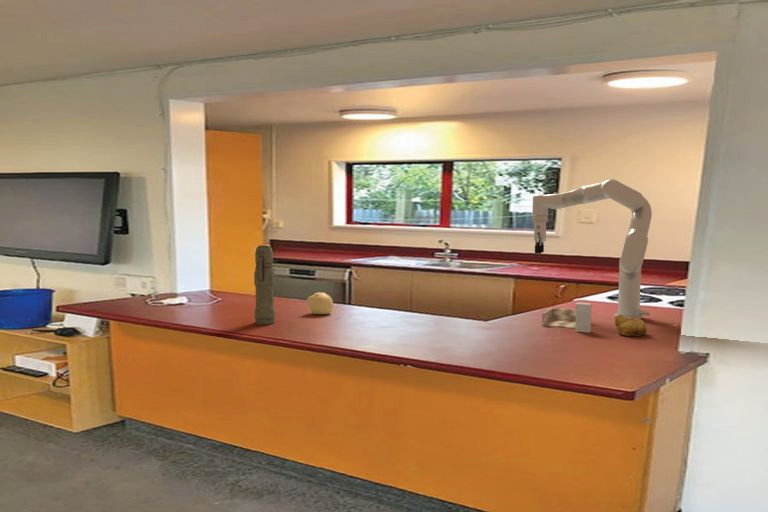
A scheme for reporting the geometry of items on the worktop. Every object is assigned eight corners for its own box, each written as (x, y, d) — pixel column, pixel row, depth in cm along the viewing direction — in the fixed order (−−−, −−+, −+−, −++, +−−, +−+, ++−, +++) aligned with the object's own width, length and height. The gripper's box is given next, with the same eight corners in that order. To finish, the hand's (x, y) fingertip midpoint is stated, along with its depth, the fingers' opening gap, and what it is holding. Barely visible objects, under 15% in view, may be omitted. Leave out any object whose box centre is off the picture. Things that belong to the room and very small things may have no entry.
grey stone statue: (252, 325, 245) (251, 246, 242) (257, 320, 257) (256, 245, 254) (272, 325, 246) (271, 246, 243) (276, 320, 257) (275, 245, 255)
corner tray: (590, 323, 253) (590, 311, 253) (584, 329, 239) (584, 316, 239) (549, 319, 262) (550, 307, 261) (542, 325, 248) (542, 313, 247)
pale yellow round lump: (319, 311, 282) (319, 290, 281) (337, 313, 275) (337, 292, 274) (303, 314, 273) (303, 292, 272) (322, 317, 266) (321, 294, 265)
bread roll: (642, 332, 234) (642, 313, 234) (654, 337, 225) (655, 317, 224) (612, 332, 234) (612, 313, 233) (622, 337, 224) (623, 318, 224)
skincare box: (591, 331, 236) (591, 303, 235) (590, 333, 232) (591, 304, 231) (576, 329, 239) (576, 302, 238) (574, 331, 235) (575, 303, 234)
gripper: (545, 219, 271) (544, 254, 272) (549, 218, 287) (548, 252, 288) (530, 219, 274) (529, 253, 275) (534, 218, 290) (533, 251, 291)
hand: (539, 252), depth 282 cm, fingers open, 9 cm apart
